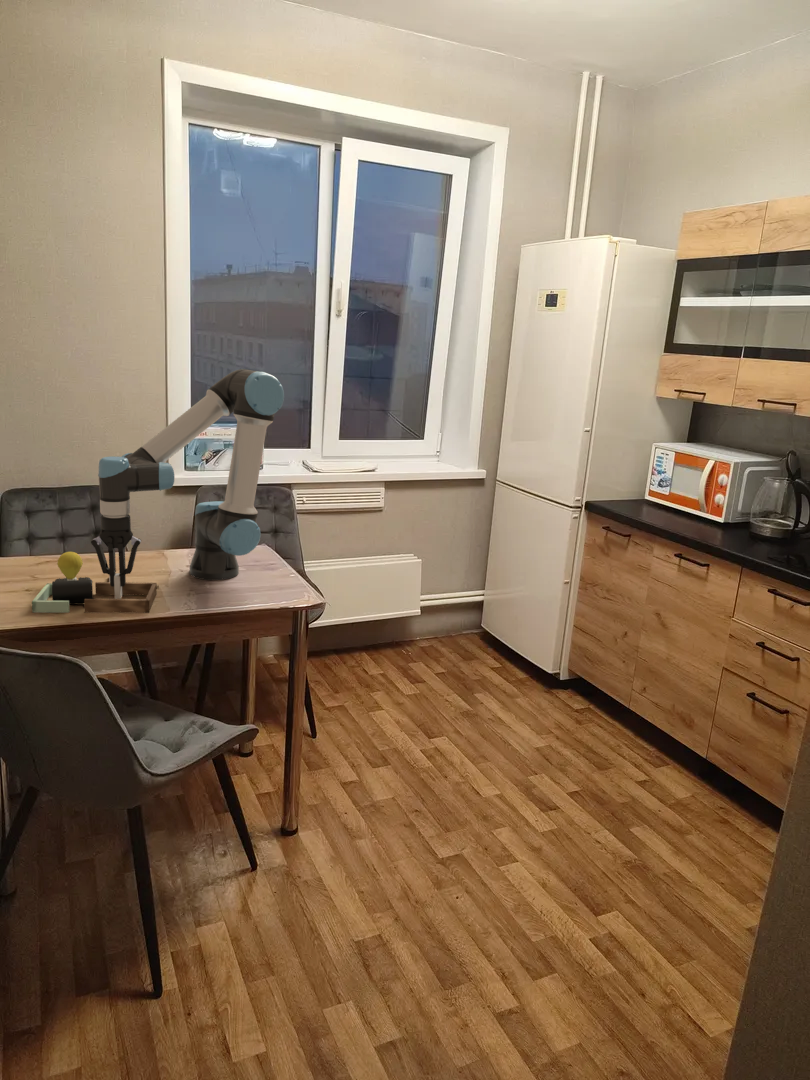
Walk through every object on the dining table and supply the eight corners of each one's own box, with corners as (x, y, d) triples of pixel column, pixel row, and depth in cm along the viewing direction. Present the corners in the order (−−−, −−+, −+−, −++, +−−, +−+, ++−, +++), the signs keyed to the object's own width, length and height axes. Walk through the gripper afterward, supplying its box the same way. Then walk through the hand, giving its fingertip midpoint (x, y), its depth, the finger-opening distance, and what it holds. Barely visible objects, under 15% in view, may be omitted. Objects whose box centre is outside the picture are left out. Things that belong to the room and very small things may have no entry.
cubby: (156, 594, 221) (156, 582, 220) (149, 612, 206) (149, 600, 205) (96, 593, 217) (96, 582, 217) (84, 612, 203) (84, 600, 202)
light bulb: (74, 589, 219) (72, 556, 217) (53, 586, 220) (51, 553, 218) (88, 583, 226) (87, 550, 223) (67, 580, 227) (66, 547, 224)
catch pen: (81, 593, 217) (81, 583, 216) (68, 612, 203) (68, 601, 202) (47, 593, 215) (47, 583, 214) (32, 612, 201) (31, 601, 200)
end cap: (52, 608, 205) (51, 585, 203) (54, 600, 211) (52, 576, 209) (93, 606, 208) (92, 583, 206) (93, 597, 215) (92, 574, 213)
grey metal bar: (115, 589, 223) (115, 583, 223) (109, 589, 223) (109, 584, 222) (115, 578, 232) (114, 573, 232) (109, 578, 232) (109, 573, 231)
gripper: (142, 511, 210) (145, 592, 216) (92, 510, 208) (96, 592, 214) (138, 518, 203) (140, 601, 209) (86, 517, 201) (90, 601, 207)
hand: (118, 597), depth 211 cm, fingers closed
